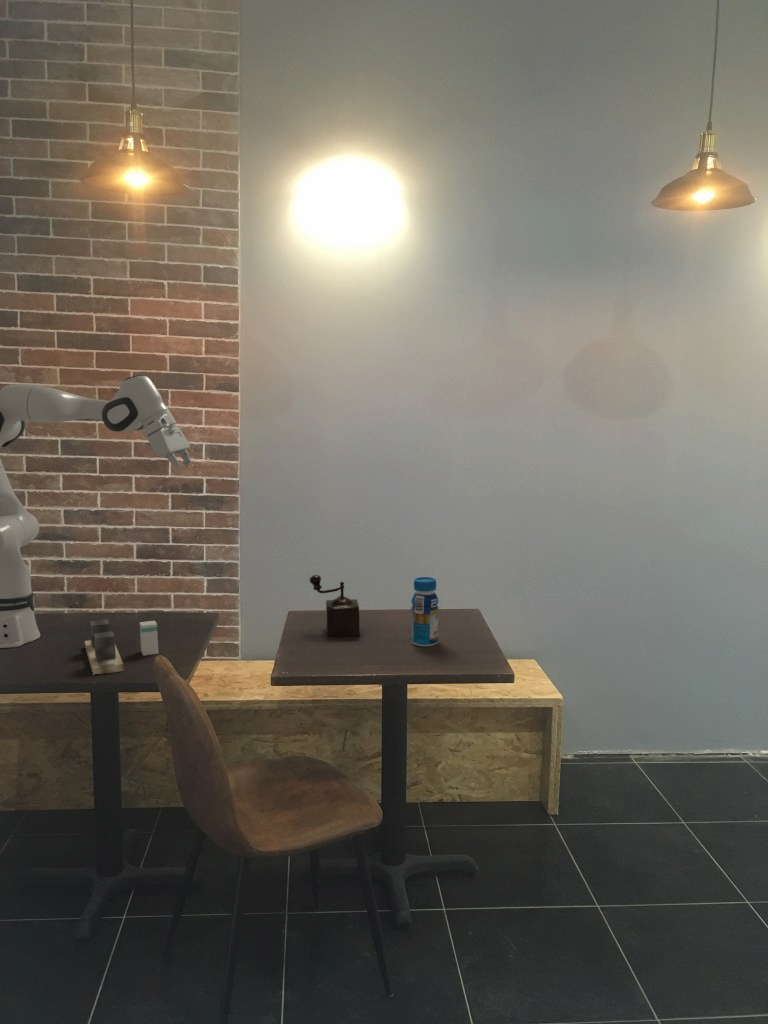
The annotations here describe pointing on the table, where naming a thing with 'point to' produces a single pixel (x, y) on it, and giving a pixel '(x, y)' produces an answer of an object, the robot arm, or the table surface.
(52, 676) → the table surface
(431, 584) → the beverage bottle
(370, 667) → the table surface
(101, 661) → the rail board
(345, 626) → the manual coffee grinder
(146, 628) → the block
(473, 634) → the table surface
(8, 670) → the table surface
